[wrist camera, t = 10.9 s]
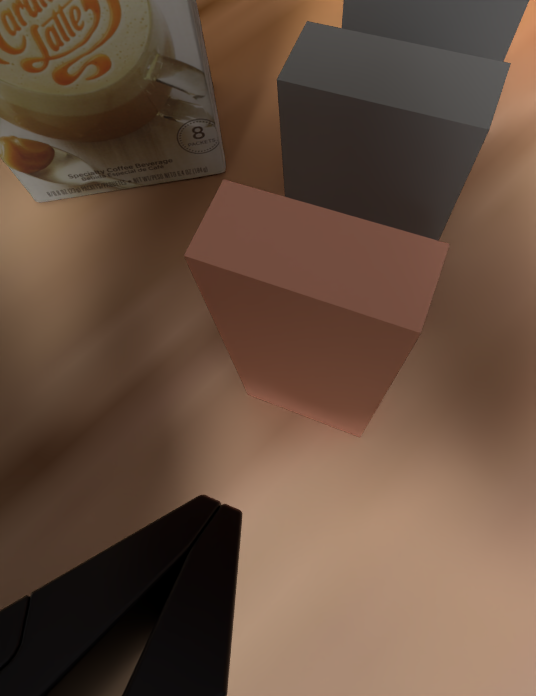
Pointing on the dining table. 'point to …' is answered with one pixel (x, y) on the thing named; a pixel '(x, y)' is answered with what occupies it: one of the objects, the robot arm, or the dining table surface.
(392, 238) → the loose domino
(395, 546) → the dining table surface
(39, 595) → the robot arm
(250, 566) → the dining table surface
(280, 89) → the domino
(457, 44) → the domino
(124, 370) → the dining table surface
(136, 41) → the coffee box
